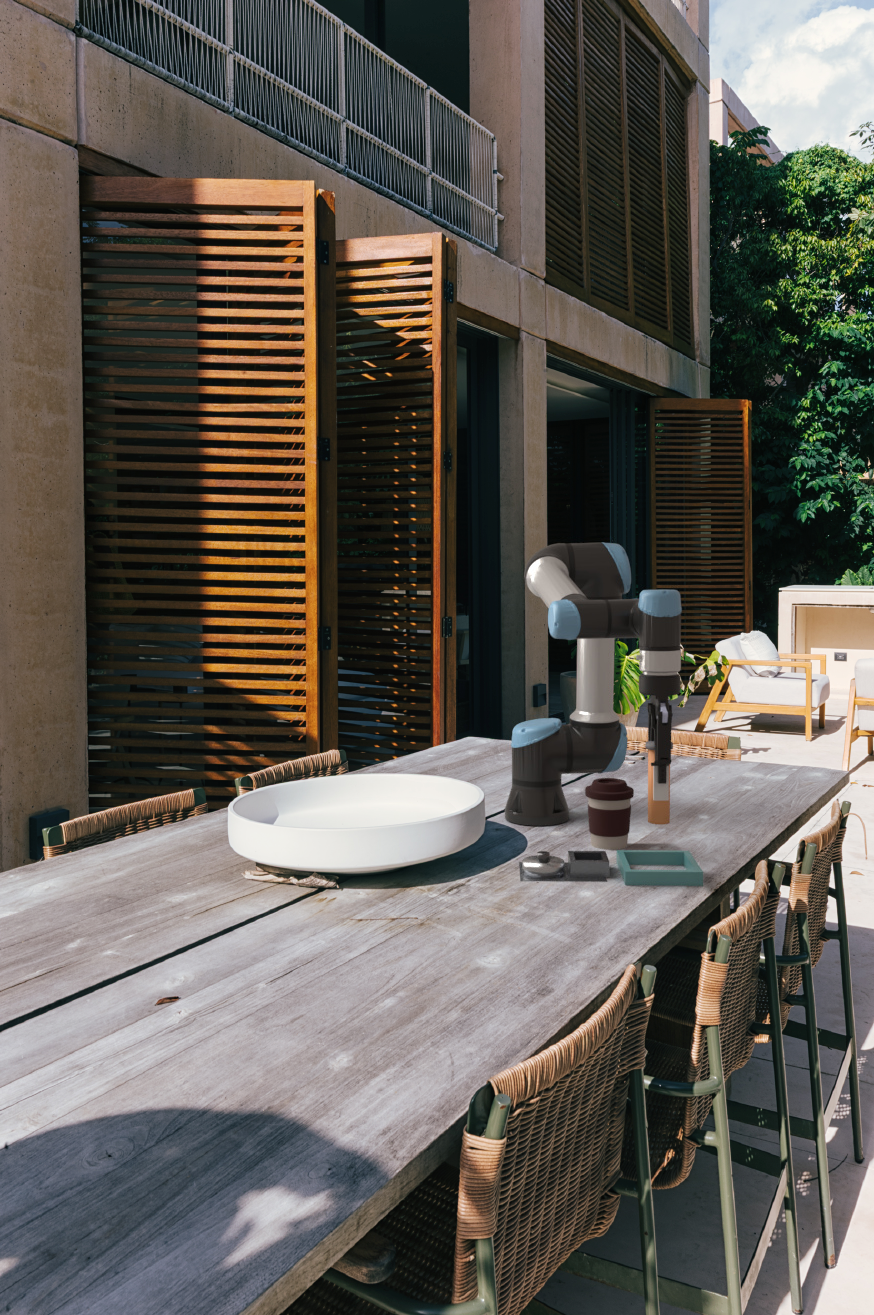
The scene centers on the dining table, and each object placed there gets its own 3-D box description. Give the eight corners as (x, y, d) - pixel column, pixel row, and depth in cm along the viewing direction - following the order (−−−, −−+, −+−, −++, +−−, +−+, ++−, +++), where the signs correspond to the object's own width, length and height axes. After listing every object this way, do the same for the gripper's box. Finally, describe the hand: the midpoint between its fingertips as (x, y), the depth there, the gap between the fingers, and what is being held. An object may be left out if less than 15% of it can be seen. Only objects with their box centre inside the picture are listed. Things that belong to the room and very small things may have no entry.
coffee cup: (633, 859, 206) (633, 786, 205) (583, 857, 208) (583, 785, 207) (633, 846, 216) (633, 776, 215) (586, 844, 218) (586, 775, 217)
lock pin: (643, 818, 193) (643, 740, 192) (670, 818, 193) (670, 740, 192) (647, 825, 188) (647, 745, 187) (674, 825, 188) (675, 745, 187)
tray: (616, 870, 199) (616, 850, 199) (688, 870, 198) (688, 850, 198) (625, 892, 185) (625, 871, 185) (703, 893, 185) (703, 872, 184)
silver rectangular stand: (519, 869, 200) (519, 844, 200) (604, 870, 199) (604, 844, 199) (520, 888, 189) (520, 861, 188) (610, 889, 188) (610, 862, 187)
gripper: (633, 668, 197) (632, 787, 199) (645, 677, 180) (645, 807, 182) (672, 668, 197) (671, 787, 199) (688, 677, 180) (687, 807, 182)
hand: (658, 797), depth 190 cm, fingers closed on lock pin, 4 cm apart
